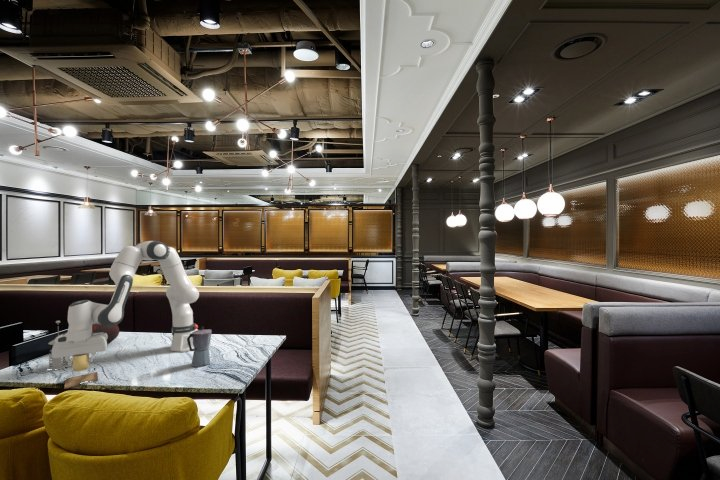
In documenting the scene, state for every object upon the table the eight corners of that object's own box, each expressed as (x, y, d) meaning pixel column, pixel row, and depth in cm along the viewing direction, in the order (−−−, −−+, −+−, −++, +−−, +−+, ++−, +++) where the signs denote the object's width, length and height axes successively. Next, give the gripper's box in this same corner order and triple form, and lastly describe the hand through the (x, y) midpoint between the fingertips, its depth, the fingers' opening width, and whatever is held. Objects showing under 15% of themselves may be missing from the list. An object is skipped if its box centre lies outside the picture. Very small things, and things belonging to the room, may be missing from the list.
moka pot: (218, 360, 180) (217, 324, 180) (196, 371, 166) (195, 332, 165) (204, 358, 183) (204, 322, 183) (181, 368, 169) (181, 330, 168)
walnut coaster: (97, 372, 165) (97, 371, 165) (98, 380, 156) (98, 379, 156) (65, 379, 157) (65, 378, 157) (64, 388, 148) (64, 387, 148)
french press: (43, 372, 166) (41, 323, 166) (51, 364, 176) (50, 318, 176) (68, 368, 171) (67, 321, 170) (75, 361, 181) (74, 316, 181)
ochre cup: (90, 365, 160) (90, 350, 160) (87, 369, 155) (87, 354, 155) (74, 367, 157) (74, 353, 157) (71, 372, 152) (70, 357, 152)
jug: (124, 345, 206) (123, 306, 205) (71, 357, 187) (70, 314, 186) (114, 337, 222) (113, 301, 222) (65, 347, 203) (64, 308, 203)
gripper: (108, 329, 164) (108, 357, 164) (54, 336, 154) (54, 365, 154) (106, 333, 159) (106, 361, 159) (50, 340, 148) (50, 370, 148)
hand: (80, 363), depth 156 cm, fingers closed on ochre cup, 6 cm apart
